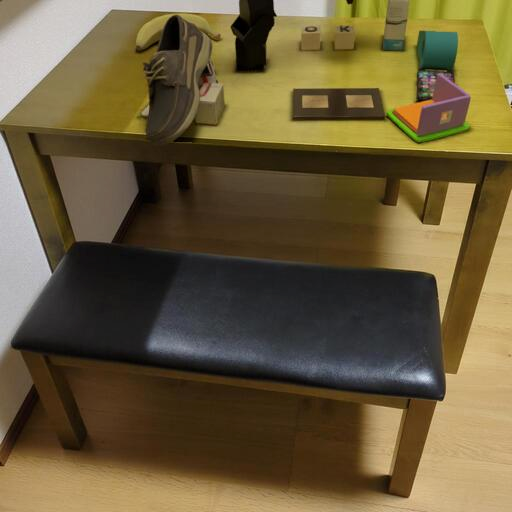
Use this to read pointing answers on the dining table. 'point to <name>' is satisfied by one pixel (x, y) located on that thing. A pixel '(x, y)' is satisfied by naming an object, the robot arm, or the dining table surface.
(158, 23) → the banana
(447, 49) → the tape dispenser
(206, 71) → the toy car
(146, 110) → the soap
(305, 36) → the tile
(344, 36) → the tile
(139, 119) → the dining table surface
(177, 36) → the boat shoe
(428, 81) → the smartphone
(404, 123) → the miniature room corner
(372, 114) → the word board
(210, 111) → the small box
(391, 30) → the ink box
